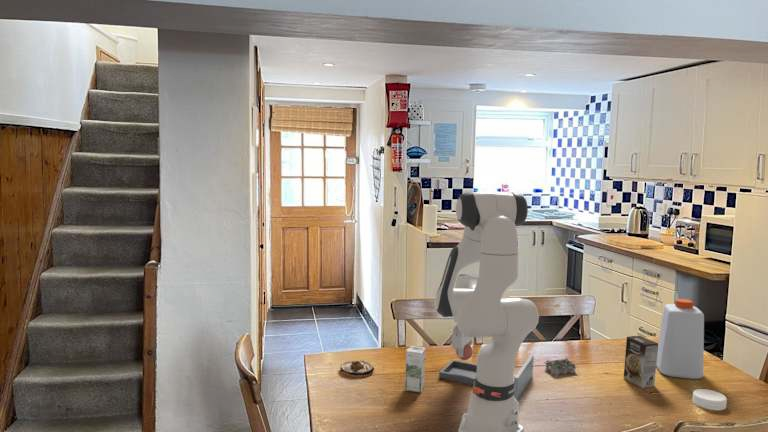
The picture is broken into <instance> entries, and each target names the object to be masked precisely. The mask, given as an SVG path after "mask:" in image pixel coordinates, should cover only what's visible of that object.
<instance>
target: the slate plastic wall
mask: <svg viewBox="0 0 768 432" xmlns="http://www.w3.org/2000/svg"><path fill="white" fill-rule="evenodd" d="M533 375H534V355H533V354H529V356H528V358H527V359H526V361H525V362H524V363H523V364H522V366H521V368H520V369H519V370H518V372H517V373H516V374H515V375H514V381H515V392H514V397H515V398H516V400H517V401H518V400H519V399H520V397H521V396H522V393H523V392H524V390H525V389H526V387H527V386H528V384H529V383H530V381H531V380H532V378H533Z"/></svg>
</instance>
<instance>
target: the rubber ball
mask: <svg viewBox="0 0 768 432" xmlns="http://www.w3.org/2000/svg"><path fill="white" fill-rule="evenodd" d="M463 350H464V356H463V357H462V358H461V357H458V350H457V349H455V353H456V356H457V357H458V358H459V359H460V360H461V361H468V360H469V359H470V358H471V357H472V356H473V354H474V353H473V348H472V345H471V346H470V345H468V344H466V345H465V346H464V349H463Z"/></svg>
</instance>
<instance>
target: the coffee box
mask: <svg viewBox="0 0 768 432" xmlns="http://www.w3.org/2000/svg"><path fill="white" fill-rule="evenodd" d="M625 343H626V344H625V355H624V368H623V379H624V380H626V381H627V382H629V383H631V384H633V385H636V386H637V387H639V388H642V389H643V388H649V387H655V382H656V373H657V372H656V371H657V366H656V363H657V353H658V342H656V341H653V340H651V339H648V338H646V337H644V336H642V335H631V336H627V337H626V342H625Z"/></svg>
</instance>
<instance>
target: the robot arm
mask: <svg viewBox="0 0 768 432" xmlns="http://www.w3.org/2000/svg"><path fill="white" fill-rule="evenodd" d="M528 209H529V208H528V202H527V199H526V198H525V196H524V195H523V194H521V193H517V192H503V191H502V192H501V191H492V190H489V191H488V190H487V191H486V190H484V191H475V192H472V191H468V192H462V193H461V194H459V196H458V198H457V200H456V203H455V214H456V218H457V221H458V222H459V223H460V224H461V225H462V226H464V228H463V235H462V237H461V239H460V241H459V243H458V244H457V245H456V246H455V247H452V249H451V251H450V253H449V255H448V258H447V261H446V264H445V268H444V272H443V275H442V277H441V281H440V285H439V287H438V290H437V291H436V295H435V298H434V308H435V311H436V312H437V313H438V314H439V315H440V316H441V317H442V318H451V317H453V322H454V323H456V326H454V327H453V329H452V335H451V348H452V349H455V350H456V349H457V350H458V356H457V357H458V358H459V357H461V358H462V357H463V356H464V350H463V349H464V346H465V345H466V344H468V345H470V346H471V347H472V343H473V339H474V338H477V339H478V338H479V339H482V338H483V339H485V338H491V339H490V341H489V342H488V343H487V344H486V345H484V346H483V347H481V348H480V350H479V351H478V354H477V357H476V364H477V373H476V377H475V381H474V386H472V390H471V392H470V399H469V403H468V407H466V410H465V411H466V412H464V413H463V414H462V417H461V421H460V424H459V427H458V431H457V432H525V431H524V430H525V428H524V426H523V425H521V424H520V403H519V401H518V400H516V398H515V397H514V392H515V381H514V378H515V367H516V366H515V365H516V359H517V355H518V352H519V349H520V347H521V345H522V343H523V342H524V340H525V339H526V337H527V336H529V334H530V333H531V332H533V331H534V330H535V329H536V327H537V325H538V324H539V319H540V316H539V310H538V307H537V305H536V304H535V303H534V301H532V300H530V299H528V298H522V297H504V298H503V295H504V294H505V292H506V291H507V289H508V288H510V287H511V286H512V285H514V284H515V283H516V281H517V279H518V275H519V274H518V273H519V271H518V270H519V267H518V266H519V241H518V239H519V237H518V232H517V231H518V230H517V227H518V226H521V225H523V224H524V222H525V221H526V220H527V218H528V212H529V210H528ZM476 263H479V267H478V268H479V269H478V275H477V274H475V273H472V274H471V273H461V274H459V273H460V271H461V270H462V269H464V268H465V267H468V266H471V265H474V264H476ZM458 274H459V275H458Z"/></svg>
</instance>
